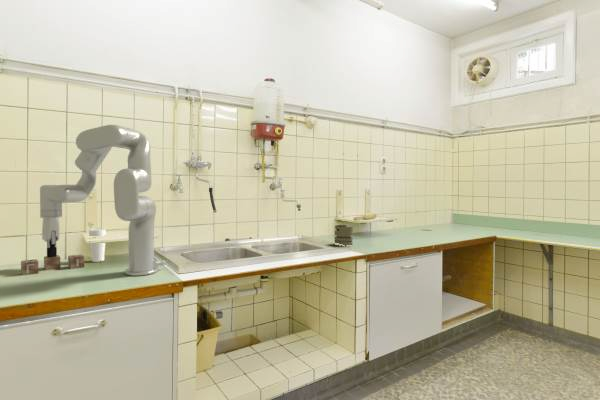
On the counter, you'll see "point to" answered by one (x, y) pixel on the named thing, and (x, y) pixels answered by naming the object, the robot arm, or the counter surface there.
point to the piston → (343, 234)
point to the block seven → (29, 267)
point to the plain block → (51, 262)
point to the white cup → (97, 245)
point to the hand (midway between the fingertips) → (51, 256)
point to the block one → (76, 261)
